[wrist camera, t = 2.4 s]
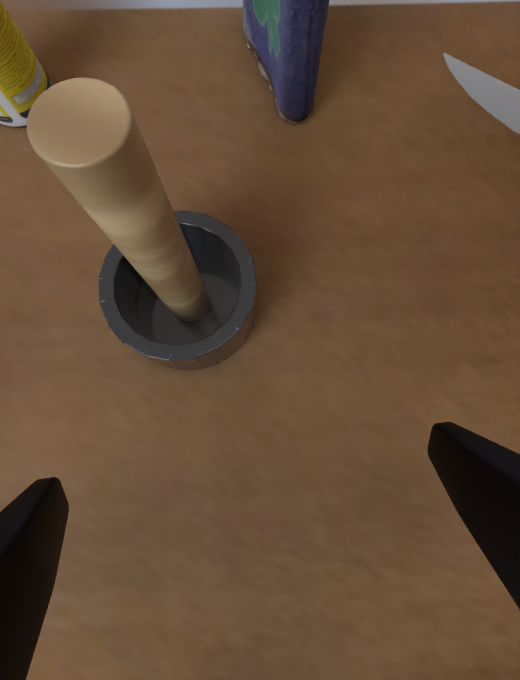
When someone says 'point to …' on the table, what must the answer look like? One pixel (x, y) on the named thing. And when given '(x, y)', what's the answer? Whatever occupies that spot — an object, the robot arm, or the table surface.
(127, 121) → the muddler
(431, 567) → the table surface
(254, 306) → the cup
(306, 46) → the flask
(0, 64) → the supplement bottle
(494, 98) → the knife
